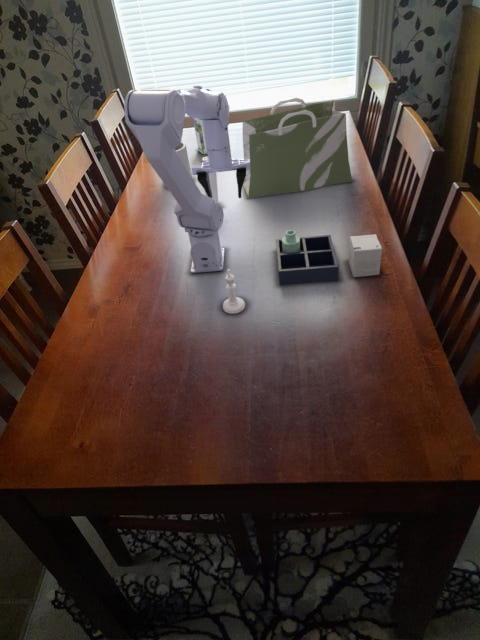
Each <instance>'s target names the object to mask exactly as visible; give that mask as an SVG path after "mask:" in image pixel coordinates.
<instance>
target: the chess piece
mask: <svg viewBox="0 0 480 640" xmlns="http://www.w3.org/2000/svg"><path fill="white" fill-rule="evenodd" d="M226 271H227V274H226V275H225V277H224V279H225V281H226V283H227V284H226V285H225V289H227V290H228V292H229V293H228V298H226V299H225V300H224V301H223V303H222V310H223V311H224V312H226V313H227V314H233V315H234V314H238V313H241V312H243V310H244V309H245V308H246V303H245V301H244V299H243V298H241V297H239V296H237V295H236V292H235V289H236V288H237V285H236V283H234V282H235V276H234V275H233V274H231V269H230V268H227V270H226Z"/></svg>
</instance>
